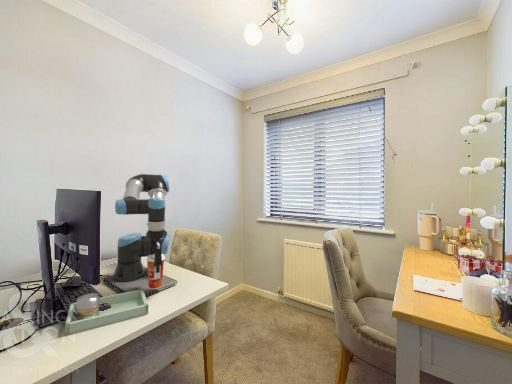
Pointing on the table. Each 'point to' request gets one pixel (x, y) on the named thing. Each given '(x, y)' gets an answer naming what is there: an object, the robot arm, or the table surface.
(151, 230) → the robot arm
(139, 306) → the tray
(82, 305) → the translucent rounded dome
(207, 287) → the table surface
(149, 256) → the coffee cup
